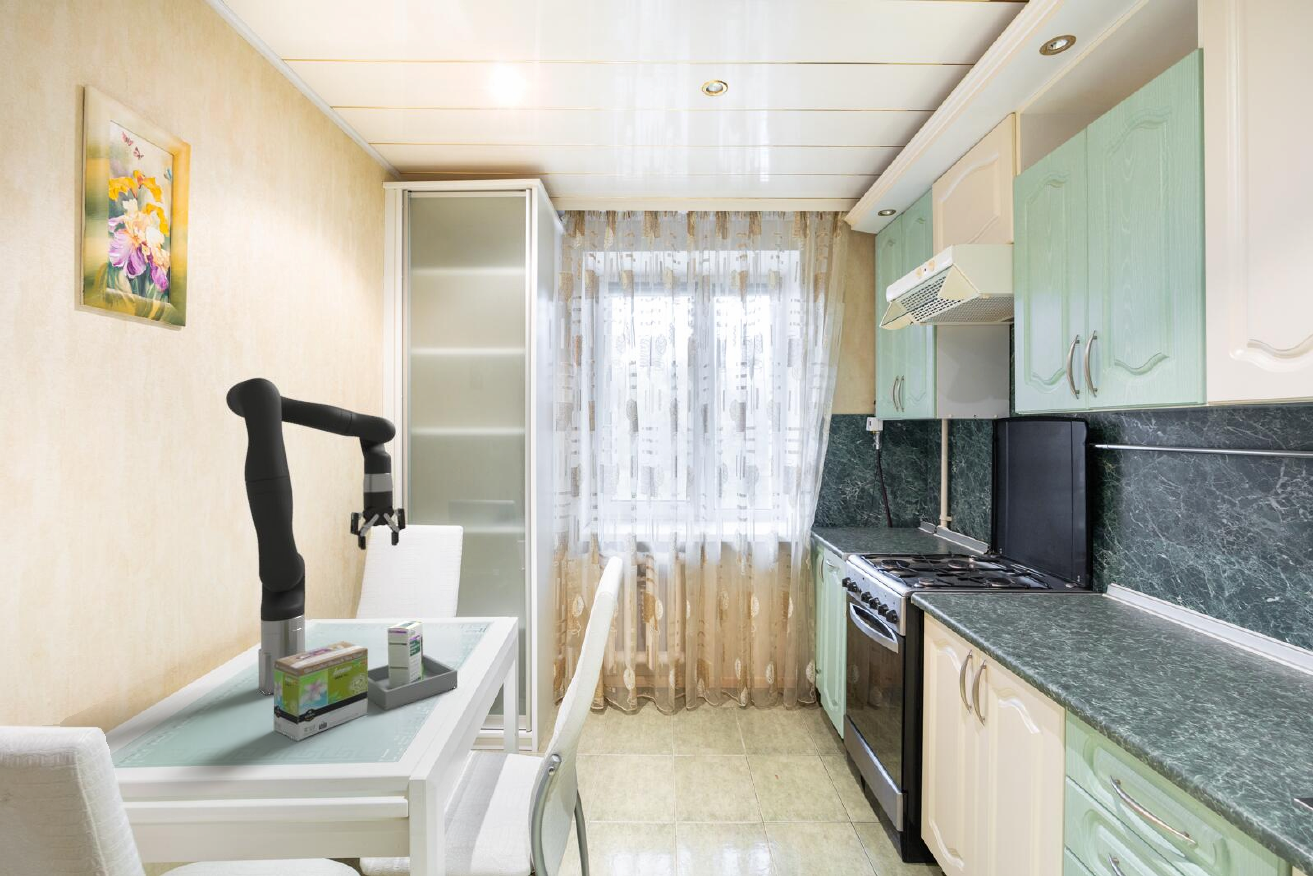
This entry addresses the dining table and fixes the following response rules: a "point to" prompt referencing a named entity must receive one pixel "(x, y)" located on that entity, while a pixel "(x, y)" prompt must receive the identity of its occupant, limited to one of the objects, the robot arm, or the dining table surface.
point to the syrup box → (405, 653)
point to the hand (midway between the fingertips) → (378, 547)
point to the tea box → (320, 689)
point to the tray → (434, 682)
